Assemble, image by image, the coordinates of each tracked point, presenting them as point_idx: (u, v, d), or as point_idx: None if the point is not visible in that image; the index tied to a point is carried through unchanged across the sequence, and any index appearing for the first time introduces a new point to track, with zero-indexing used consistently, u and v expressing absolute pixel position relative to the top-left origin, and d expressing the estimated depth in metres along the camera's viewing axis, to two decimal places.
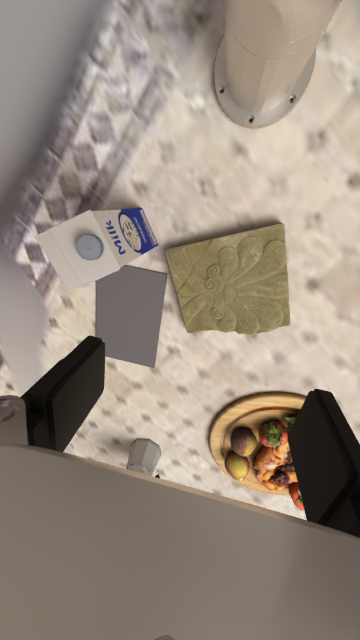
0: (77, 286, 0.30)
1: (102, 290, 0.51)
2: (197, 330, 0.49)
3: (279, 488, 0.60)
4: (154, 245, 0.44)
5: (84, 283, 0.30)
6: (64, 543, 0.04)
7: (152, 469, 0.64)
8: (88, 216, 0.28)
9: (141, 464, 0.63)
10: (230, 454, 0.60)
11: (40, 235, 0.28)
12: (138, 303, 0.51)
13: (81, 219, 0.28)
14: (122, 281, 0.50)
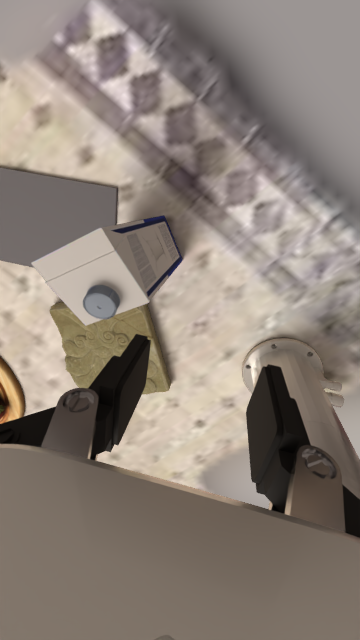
0: (44, 276, 0.21)
1: (76, 190, 0.36)
2: (55, 321, 0.43)
3: None
4: None
5: (51, 286, 0.21)
6: (64, 543, 0.04)
7: None
8: (141, 299, 0.21)
9: None
10: None
11: (103, 235, 0.18)
12: None
13: (136, 291, 0.21)
14: (94, 225, 0.37)
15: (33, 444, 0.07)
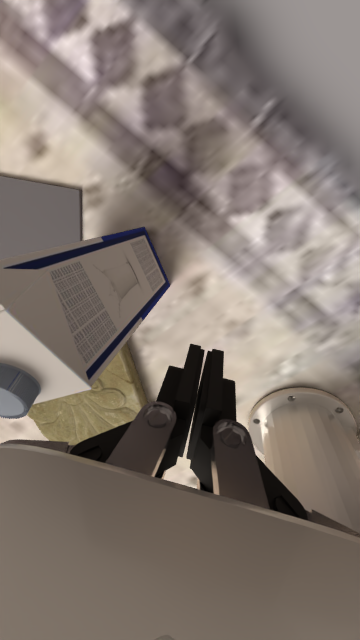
0: None
1: (27, 193, 0.27)
2: None
3: None
4: None
5: None
6: (64, 543, 0.04)
7: None
8: (75, 384, 0.12)
9: None
10: None
11: None
12: None
13: (64, 374, 0.12)
14: (53, 239, 0.28)
15: None
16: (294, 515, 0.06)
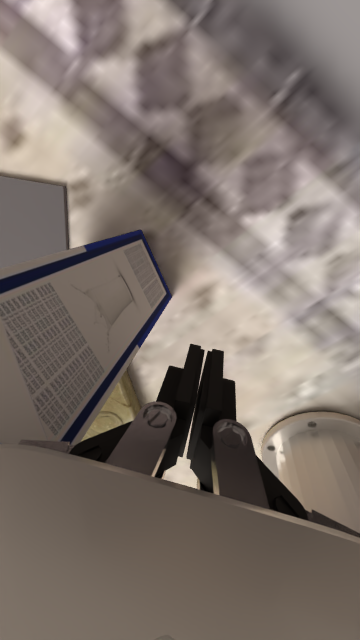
0: None
1: (3, 191, 0.23)
2: None
3: None
4: None
5: None
6: (64, 543, 0.04)
7: None
8: None
9: None
10: None
11: None
12: None
13: None
14: (35, 244, 0.24)
15: None
16: (294, 515, 0.06)
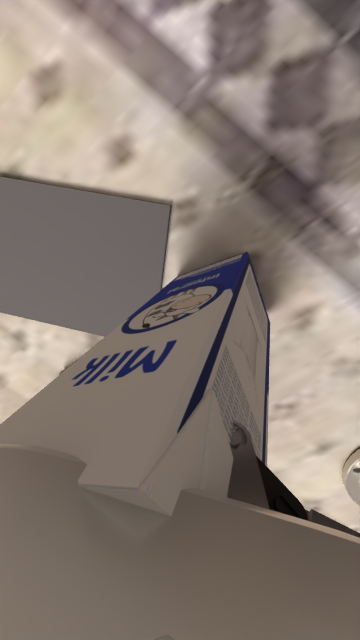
0: None
1: (102, 209, 0.22)
2: None
3: None
4: None
5: None
6: (64, 543, 0.04)
7: None
8: None
9: None
10: None
11: (152, 504, 0.04)
12: (90, 291, 0.26)
13: None
14: (129, 262, 0.24)
15: None
16: (294, 515, 0.06)
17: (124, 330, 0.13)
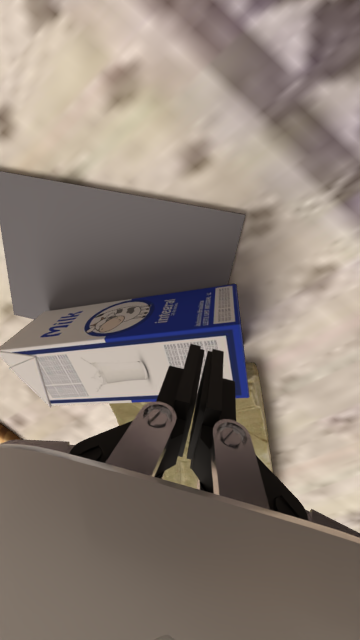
0: None
1: (170, 217, 0.21)
2: (114, 410, 0.28)
3: None
4: None
5: None
6: (64, 543, 0.04)
7: None
8: None
9: None
10: None
11: (1, 354, 0.21)
12: None
13: None
14: (193, 273, 0.22)
15: None
16: (294, 515, 0.06)
17: (108, 307, 0.23)
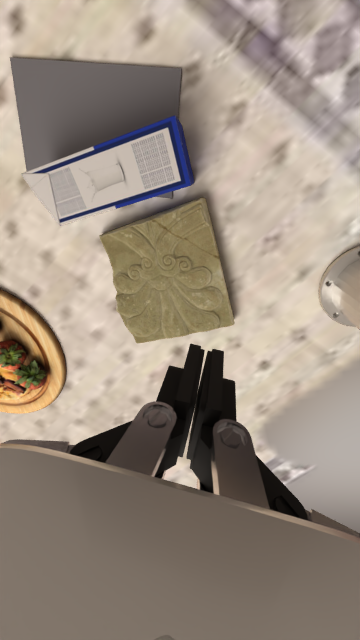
0: None
1: (133, 78, 0.31)
2: (107, 249, 0.38)
3: None
4: None
5: None
6: (64, 543, 0.04)
7: None
8: None
9: None
10: None
11: (24, 178, 0.31)
12: None
13: None
14: (152, 122, 0.33)
15: None
16: (294, 515, 0.06)
17: None
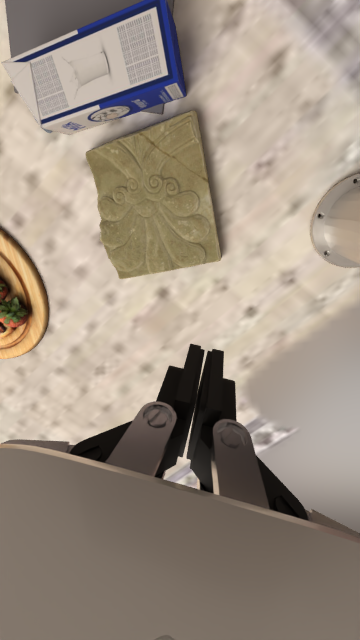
0: None
1: None
2: (92, 167, 0.37)
3: None
4: None
5: None
6: (64, 543, 0.04)
7: None
8: None
9: None
10: None
11: (5, 68, 0.29)
12: None
13: None
14: None
15: None
16: (294, 515, 0.06)
17: None
